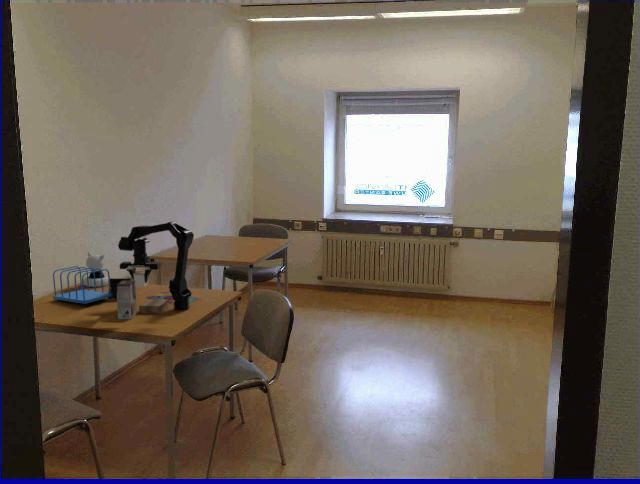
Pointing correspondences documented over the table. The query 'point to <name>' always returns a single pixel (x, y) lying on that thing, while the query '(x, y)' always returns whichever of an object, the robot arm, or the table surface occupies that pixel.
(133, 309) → the coffee box
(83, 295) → the file sorter
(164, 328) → the table surface
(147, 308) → the walnut block
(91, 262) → the decorative figurine
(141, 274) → the cream capped cube
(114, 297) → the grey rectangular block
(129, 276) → the digital clock
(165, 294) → the relief map
